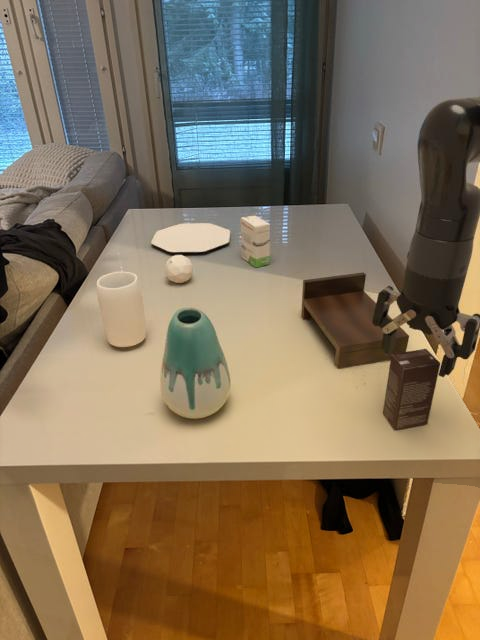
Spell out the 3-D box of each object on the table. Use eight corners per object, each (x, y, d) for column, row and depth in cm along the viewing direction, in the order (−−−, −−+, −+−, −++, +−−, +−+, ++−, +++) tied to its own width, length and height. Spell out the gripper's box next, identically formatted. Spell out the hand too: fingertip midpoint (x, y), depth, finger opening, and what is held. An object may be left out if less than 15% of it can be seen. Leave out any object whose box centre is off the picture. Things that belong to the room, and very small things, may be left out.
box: (413, 406, 78) (426, 347, 72) (427, 425, 74) (443, 364, 68) (379, 411, 77) (390, 352, 71) (392, 431, 73) (405, 370, 67)
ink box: (270, 264, 128) (271, 223, 122) (254, 268, 126) (254, 226, 120) (255, 253, 134) (255, 214, 128) (240, 257, 133) (239, 217, 126)
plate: (228, 255, 134) (228, 250, 133) (146, 256, 134) (145, 251, 134) (231, 227, 154) (231, 222, 153) (160, 228, 155) (159, 223, 154)
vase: (235, 424, 75) (232, 330, 66) (163, 432, 74) (149, 338, 65) (227, 379, 85) (223, 293, 76) (163, 386, 84) (151, 299, 75)
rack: (359, 307, 106) (363, 272, 102) (405, 357, 90) (413, 317, 85) (301, 316, 104) (303, 280, 99) (337, 369, 87) (341, 328, 83)
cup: (145, 352, 93) (135, 289, 86) (103, 353, 93) (89, 290, 86) (150, 329, 101) (142, 269, 93) (111, 331, 100) (99, 271, 93)
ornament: (198, 283, 118) (182, 267, 112) (173, 291, 121) (156, 275, 115) (198, 261, 122) (183, 244, 115) (174, 269, 124) (157, 252, 118)
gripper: (503, 269, 60) (472, 369, 68) (398, 242, 68) (382, 335, 76) (484, 290, 55) (453, 395, 63) (374, 258, 63) (359, 355, 72)
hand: (414, 362), depth 70 cm, fingers open, 8 cm apart
